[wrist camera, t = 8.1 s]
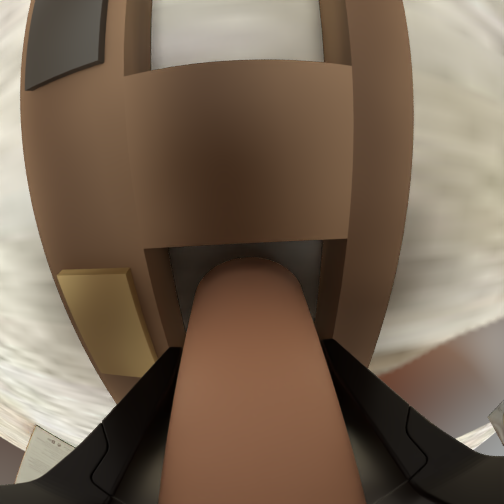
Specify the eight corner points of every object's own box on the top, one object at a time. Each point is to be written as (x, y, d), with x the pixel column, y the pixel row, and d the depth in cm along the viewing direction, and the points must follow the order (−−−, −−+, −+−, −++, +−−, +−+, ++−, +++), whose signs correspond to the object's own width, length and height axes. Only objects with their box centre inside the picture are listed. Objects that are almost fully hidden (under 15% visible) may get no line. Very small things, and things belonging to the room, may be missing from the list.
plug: (306, 253, 9) (407, 507, 2) (300, 341, 11) (343, 534, 4) (186, 259, 9) (117, 523, 2) (202, 346, 11) (184, 543, 4)
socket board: (346, -81, 4) (368, -110, 1) (340, 374, 14) (353, 414, 12) (81, -56, 4) (53, -78, 1) (133, 381, 14) (122, 420, 11)
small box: (35, 423, 19) (6, 509, 7) (83, 451, 21) (62, 539, 9) (33, 437, 21) (10, 508, 10) (73, 460, 23) (55, 531, 12)
